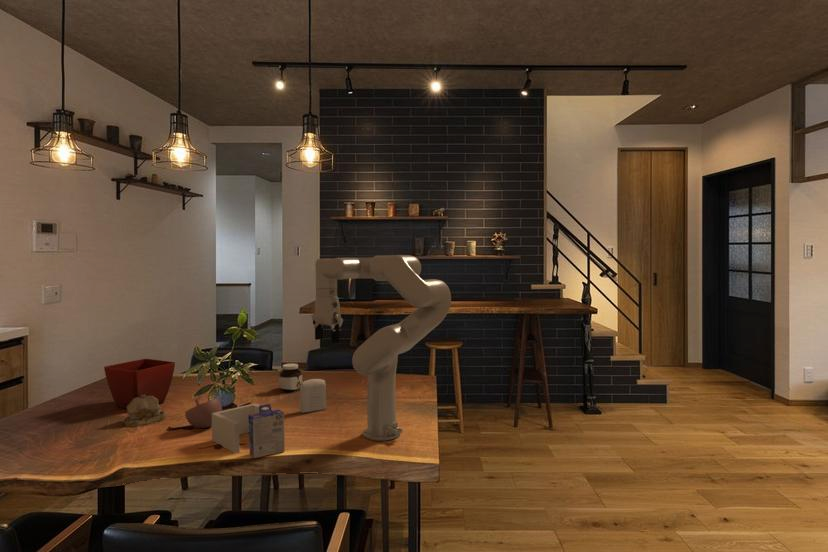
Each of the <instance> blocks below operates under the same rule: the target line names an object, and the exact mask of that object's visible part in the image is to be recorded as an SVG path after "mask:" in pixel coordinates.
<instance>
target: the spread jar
mask: <svg viewBox="0 0 828 552" xmlns="http://www.w3.org/2000/svg"><path fill="white" fill-rule="evenodd" d="M302 382H303V373H302V371H301V370H300V369H299V364H298V363H285V364H283V365H282V369H281V371H280V372H279V376H278V387H279V389H280V390H281V391H282V392H283V391H284V392H283V393H295V392H294V391H296V392H298V391H299V390H300V385H301V383H302ZM297 390H298V391H297Z"/></svg>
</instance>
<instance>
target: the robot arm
mask: <svg viewBox="0 0 828 552" xmlns="http://www.w3.org/2000/svg"><path fill="white" fill-rule="evenodd" d="M421 273H422V264H421V262H420V260H419V259H418V258H417V257H415V256H413V255H411V254H397V255H396V254H394V255H393V254H392V255H374V256H373V257H335V258H329V257H327V258H318V259H316V260H315V303H314V313H313V314H312V315H311V320H312V324H313V329H314V339H315V340H316V341H317V340H324V327H323V326H330V328H331V330H332V331H331V332H330V334H331V335H330V340H331V341H330V342H331V344H333V343H339V342H340V340H341V339H340V338H341V337H340V332H341V331H342V330H341V328H342V326H343V323H344V319H343V318H342V316H341V305H340V301H339V300H340V299H339V297H338V280H348V279H349V280H352V279H371V280H372V279H373V280H374V281H375V282H388V283H389V284H390V285H391V286H392V288H393V289H395V290H396V291H397V293H398V294H399V295H400V296H401V297H402V298H403V299H404V300H405V301H406V302H407V303H408V304H409V305H411V306H412V307H414V308H416V309H415V310H413V311H412V312H411V313H410V314H409V315H408V316H406V317H405V318H404V319H403V320H401V321H400V322H398V323H396V324H391V325H386V326H384V327H382V328H379V329H378V330H377V331H375V332H374V333H373V334H372V335H371V336H370V337H369V338H367V339H366V340H365V341H364V342H363V343H361V344H360V345H359V346H358V347H357V348H356V350H355V351H354V353H353V355H352V361H351V363H352V367H353V369H354V370H355V371H356V372H357V373H358V374H359V375H363V376H367V381H366V385H367V387H366V399H367V400H366V403H367V404H366V405H367V408H366V410H367V413H366V414H367V415H366V416H367V420H366V421H367V424H366V425H367V428H365V429H363V431H362V436H363V438H365V439H367V440H370V441H377V442H378V441H380V442H384V441H391V440H394V439H396V438H398V437H400V436H401V433H403V429H402V428H401V427H398V424H399V423H398V422H397V420H396V377H397V376H396V375H397V366H398V362H399V361H398V359H399V355H401V354H404V353H406V352H408V351H410V350H411V349H412V348H413V347H414V346H415V345H417V344H418V343H419V342H420V341H421V340H422V339H424V338H425V337H426V336H427V335H428V334H429V333H430V332H432V331H433V330H434V329H436V327H438V326H439V325H440V324H441V323H442V322H443V321H444V319H445V318H446V316H447V315H448V313H449V311H450V309H451V304H452V303H451V302H452V294H451V290H450V288H449V286H448V285H447V284H446V282H445V281H443V280H440V279H436V278H435V279H434V278H431V279H430V278H429V279H422V278H421V277H420V275H421Z"/></svg>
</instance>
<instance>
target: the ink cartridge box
mask: <svg viewBox="0 0 828 552" xmlns="http://www.w3.org/2000/svg"><path fill="white" fill-rule="evenodd" d="M264 407H266V408H268V409H266V410H261V408H264ZM259 412H260V413H256V414H251V415H248V417H249V432H248V433H249V434H248V435H249V454H250V456H251V458H253V459H257V458H261V457H265V456H270V455H274V454H275V455H276V454H278V453H283V452H285V447H286V446H285V443H286V442H285V413H284V411H282V410H280V409H278V408H277V409H272V405H271V403H268V404H263V405H262V404H261V406H259Z"/></svg>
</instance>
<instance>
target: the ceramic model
mask: <svg viewBox="0 0 828 552" xmlns="http://www.w3.org/2000/svg"><path fill="white" fill-rule="evenodd" d="M161 408H162V407H161V405H160V404H158V399H157V398H155V397H154V396H146V397H145V394H144V395H141V397H138V398H134V399H133V400H132V401H131V402H130V403H129V404H128V405H127V406H126V408H125V409H126V411H127V412H126V414H127V415H128V416H127V417H126V418H125V419H123V420H122V424H124V423H125V424H124V425H125V427H129V426H134V427H139V426H138V425H142V426H146V425H145V424H148V425H152V424H151V423H153V424H156V423H155V422H158V423H160V421H161V422H164V421H165V420H166V415H167V414H166V412H165V411H164V410H161ZM163 420H164V421H163Z"/></svg>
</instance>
